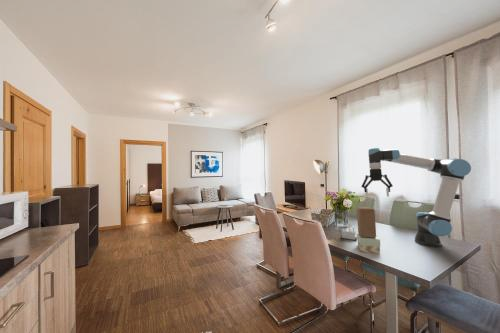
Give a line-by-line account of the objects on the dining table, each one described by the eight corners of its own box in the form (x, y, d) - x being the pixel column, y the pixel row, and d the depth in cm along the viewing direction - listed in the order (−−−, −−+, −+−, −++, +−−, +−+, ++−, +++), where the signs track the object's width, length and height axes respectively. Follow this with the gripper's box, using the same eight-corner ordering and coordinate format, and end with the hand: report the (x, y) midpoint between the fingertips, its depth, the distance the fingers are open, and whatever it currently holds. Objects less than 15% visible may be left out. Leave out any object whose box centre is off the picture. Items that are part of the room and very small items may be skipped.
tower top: (375, 240, 150) (375, 234, 150) (380, 246, 139) (380, 239, 139) (357, 239, 154) (357, 233, 154) (360, 245, 142) (360, 238, 142)
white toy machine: (344, 222, 185) (359, 224, 178) (345, 233, 185) (359, 235, 178) (340, 227, 170) (355, 229, 163) (340, 239, 170) (356, 241, 163)
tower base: (376, 247, 149) (376, 241, 149) (380, 254, 138) (379, 246, 138) (358, 246, 154) (357, 239, 154) (360, 252, 143) (359, 245, 143)
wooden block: (376, 238, 140) (374, 209, 141) (360, 237, 143) (358, 208, 144) (373, 234, 150) (371, 206, 151) (358, 233, 153) (356, 206, 154)
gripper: (392, 167, 154) (395, 195, 153) (356, 169, 162) (358, 196, 161) (396, 167, 147) (398, 196, 146) (357, 169, 155) (359, 197, 154)
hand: (377, 196), depth 154 cm, fingers open, 13 cm apart
